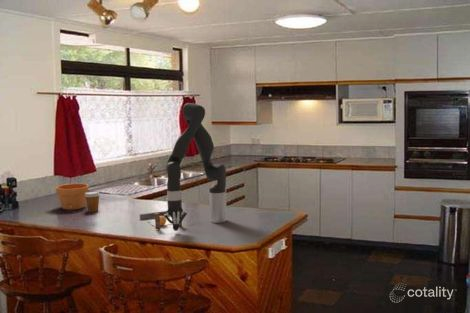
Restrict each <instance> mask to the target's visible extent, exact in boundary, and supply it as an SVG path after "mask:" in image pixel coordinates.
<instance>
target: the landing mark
mask: <svg viewBox="0 0 470 313" xmlns="http://www.w3.org/2000/svg"><path fill="white" fill-rule="evenodd" d="M169 219H170V220H171V221H172V218H171V217H169ZM169 224H171V223H170V222H169V221H168V220H167V219H166V223H165V224H164V225H163V226H169ZM171 225H172V224H171Z"/></svg>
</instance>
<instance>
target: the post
mask: <svg viewBox="0 0 470 313" xmlns="http://www.w3.org/2000/svg"><path fill="white" fill-rule="evenodd" d="M154 220H155V227H154V228H155V229H160V230H161V226H160V215H159V213H155V218H154ZM155 229H154V230H155Z"/></svg>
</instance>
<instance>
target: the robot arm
mask: <svg viewBox="0 0 470 313" xmlns="http://www.w3.org/2000/svg"><path fill="white" fill-rule="evenodd" d="M182 115H183V119H184V120H185V122H186V124H187V128H186V129H185V130H184V132H182V133H181V135H179V137H178V138H177V139H176V142H175V143H174V144H175V145H174V146H173V148H172V152H171V154H170V156H169V158H168V160H167V161H166V164H165V170H166V172H167V180H166V181H167V182H166V187H167V189H166V190H167V191H166V192H167V193H166V197H167V198H166V200H167V210H166V211H167V213H166V214H164V215H163V216H164V217H165V218H166V219H167V220H168V221H169V222H170V223H171V225H172V230H174V232H177V231H179V230H180V229H179V228H180V227H179V223H180V222H182V223H183V220H184V219H185V217H186V216H187V215H188V214H187V212H186V211H184V209H183V205H182V203H183V202H182V198H183V197H182V190H181V166H180V165H181V163H182V161H183V159H184V158H185V156H186V155H187V152H188V149H189V146H190V144H191V141H192V140H194V144H195V146H196V148H197V152H198V153H199V156H200V158H201V161H202V166H203V169H204V173H205V176H206V178H207V180H209V181H216V184H215V185H211V186H210V187H209V188H208V189H209V190H208V191H209V210H210V211H209V212H210V223H215V224H218V223H220V224H221V223H225V222H227V201H226V195H227V194H226V186H227V170H226V166H225V165H224V164H218V163H217V164H216V163H215V164H214V163H212V159H211V157H212V155H213V152H214V149H215V146H214V142H213V139H212V136H211V135H210V133H209V132H208V131H207V129H206V128H205V127H204V125H203V124H202V122H203V121H204V119H205V115H206V110H205V107H204V106H202V105H199V104H197V103H194V102H187V103H185V104H184V105H183V107H182ZM168 214H169V215H168ZM180 215H181V217H180V218H179V216H180ZM169 218H170V219H171V220H172V221H171V220H170V219H169Z"/></svg>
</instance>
